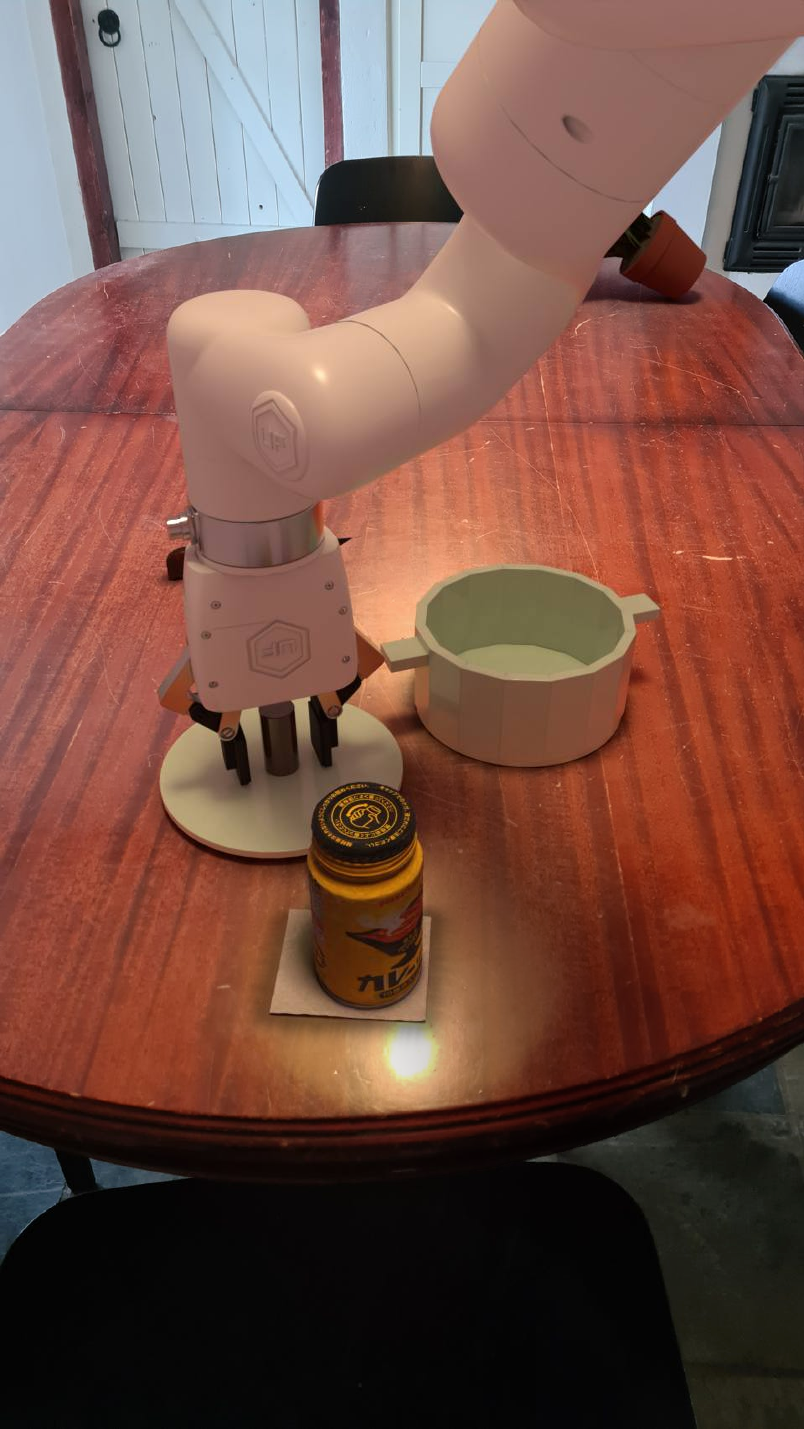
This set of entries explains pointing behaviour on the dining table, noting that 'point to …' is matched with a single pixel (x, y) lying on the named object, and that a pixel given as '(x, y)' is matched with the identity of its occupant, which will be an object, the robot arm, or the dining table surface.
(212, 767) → the lid
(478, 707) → the pot
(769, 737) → the dining table surface
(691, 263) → the potted plant
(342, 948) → the condiment
